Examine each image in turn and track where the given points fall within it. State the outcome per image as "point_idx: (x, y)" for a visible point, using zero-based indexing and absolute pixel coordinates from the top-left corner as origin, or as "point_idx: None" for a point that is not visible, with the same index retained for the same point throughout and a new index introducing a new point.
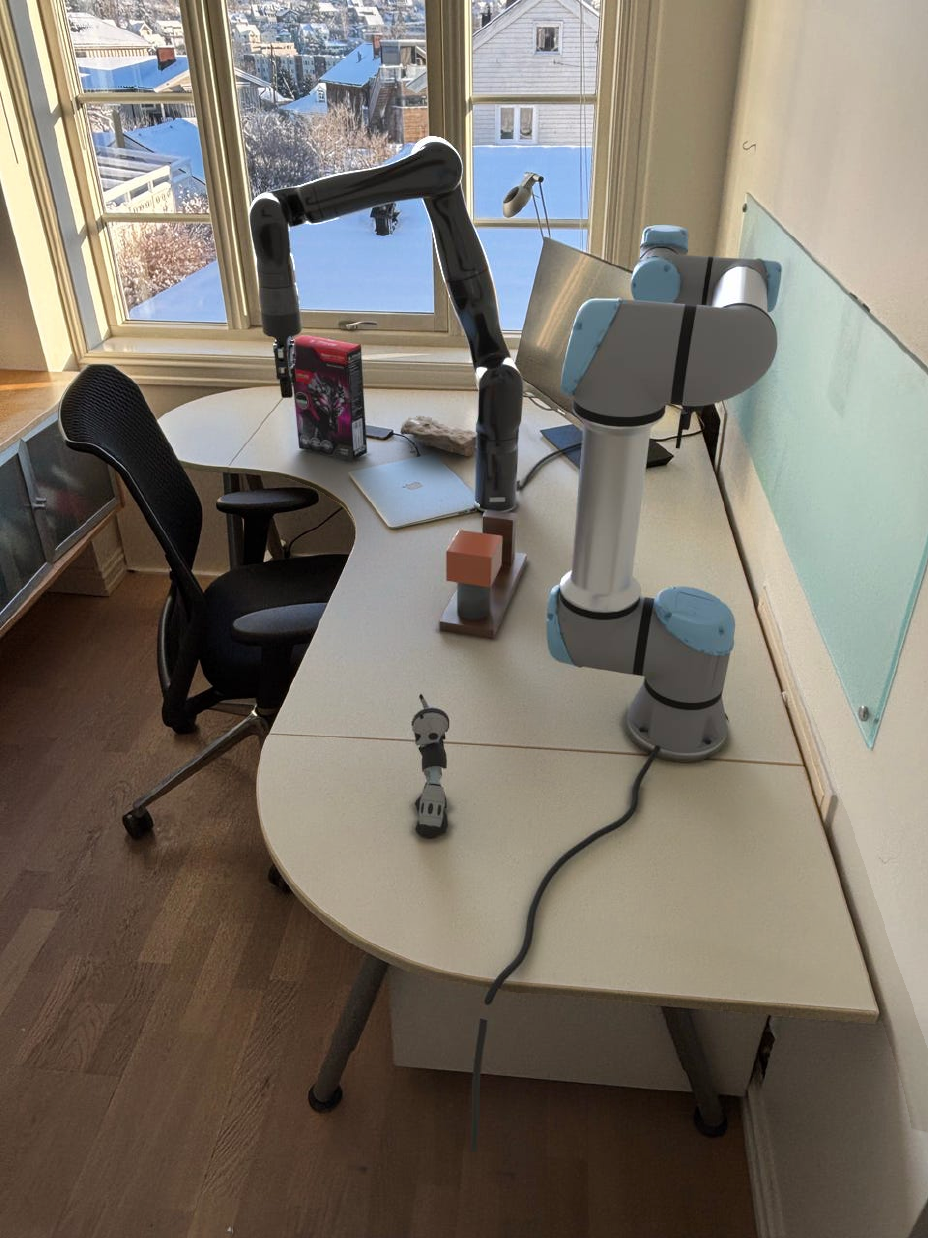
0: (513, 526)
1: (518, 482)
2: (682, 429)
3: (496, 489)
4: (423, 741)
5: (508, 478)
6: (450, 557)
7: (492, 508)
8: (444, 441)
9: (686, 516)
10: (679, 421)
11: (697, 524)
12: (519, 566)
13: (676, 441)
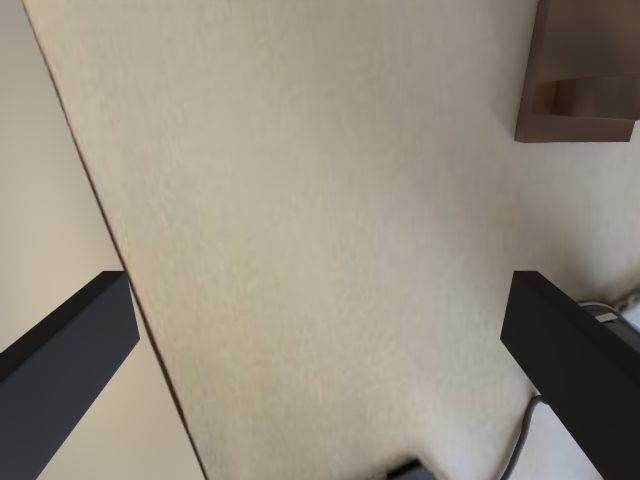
0: (629, 82)
1: None
2: (24, 340)
3: (617, 332)
4: None
5: None
6: None
7: (594, 307)
8: None
9: (240, 378)
10: (3, 378)
11: (217, 357)
12: (539, 82)
13: (104, 289)
